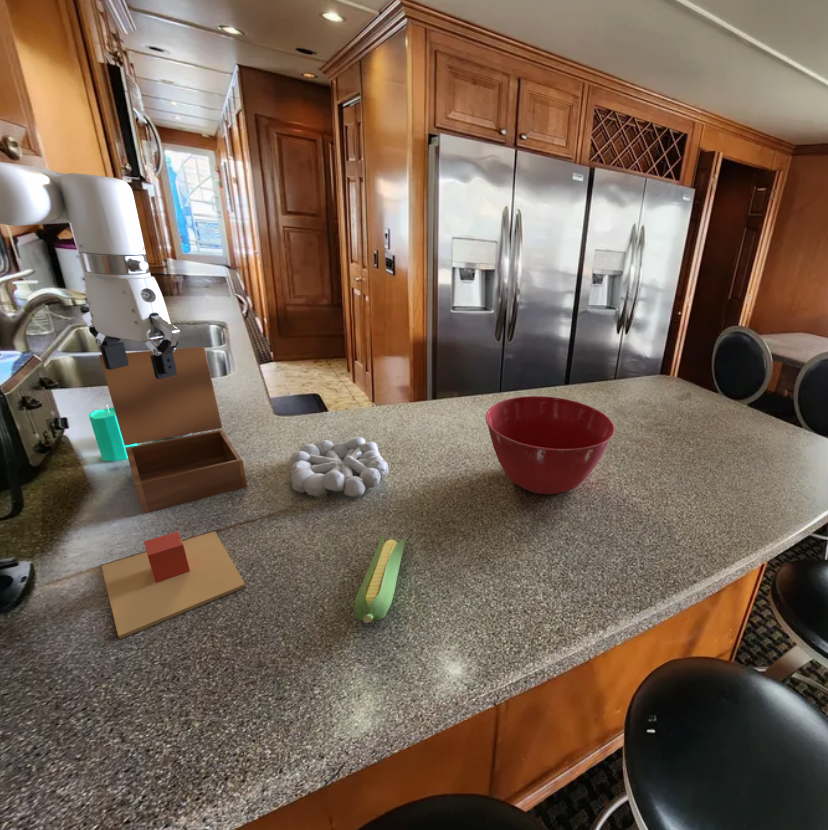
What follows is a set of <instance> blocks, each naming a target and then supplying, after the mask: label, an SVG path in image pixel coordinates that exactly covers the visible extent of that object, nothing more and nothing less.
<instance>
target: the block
mask: <svg viewBox="0 0 828 830" xmlns="http://www.w3.org/2000/svg"><path fill="white" fill-rule="evenodd" d="M182 540H183V539H182V537H181V534H180V531H179V530H178V531H174V532H171V533H168V534H164V535H161V536H157V537H154V538H151V539H147V540H144V541H143V542H144V547H145V551H147V555H148V559H149V562H150V565H151V569H152V572H153V576H154V579H155V582H156V583H157V582H160V581H163V580H166V579H169V578H172V577H175V576H178V575H181V574H184V573H186V572H189V571H190V569H189V565H188V561H187V557H186V553H185V549H184V545H183V542H182Z"/></svg>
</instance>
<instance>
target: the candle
mask: <svg viewBox="0 0 828 830" xmlns="http://www.w3.org/2000/svg"><path fill="white" fill-rule="evenodd" d="M88 417H89V421H90V424H91V428H92V431H93V434H94V437H95V441H96V443H97V447H98V449H99V454H100V456H101V459H102V460H103V461H106V462H119V461H124V460H128V456H127V452H126V448H125V447H131V446H136V445H139V443H136V444H131V445H124V441H123V438H122V434H121V431H120V427H119V424H118V420H117V417H116V413H115V410H114V406H111V407H109V405H108V404H106V408H103V409H94V410H92V411H91V412H89V414H88Z"/></svg>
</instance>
